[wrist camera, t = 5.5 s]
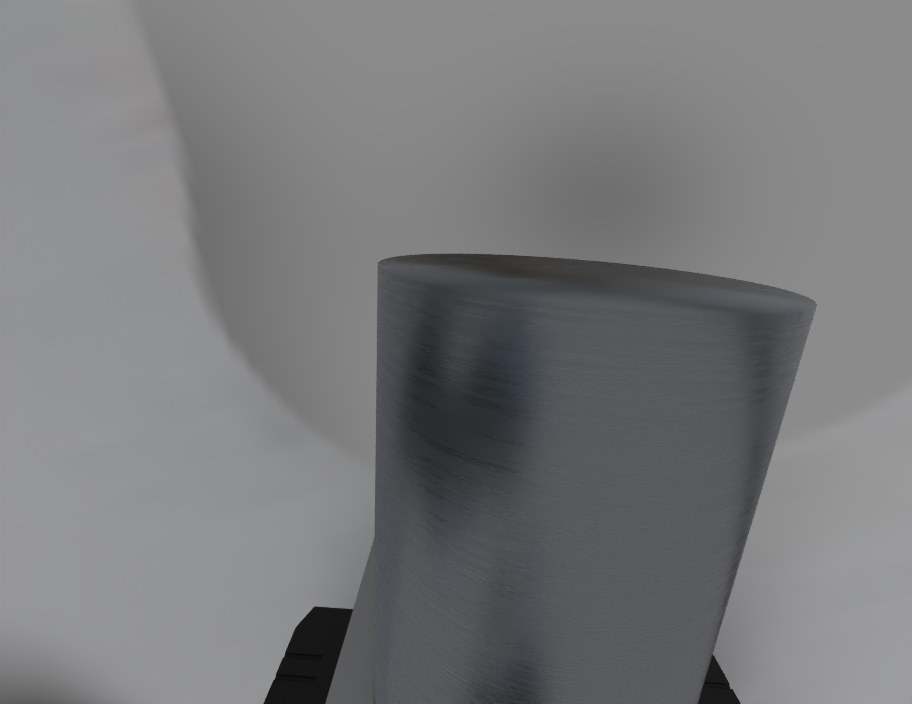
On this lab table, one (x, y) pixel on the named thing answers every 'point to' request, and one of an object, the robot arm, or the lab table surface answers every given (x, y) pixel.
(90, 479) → the lab table surface
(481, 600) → the tube
